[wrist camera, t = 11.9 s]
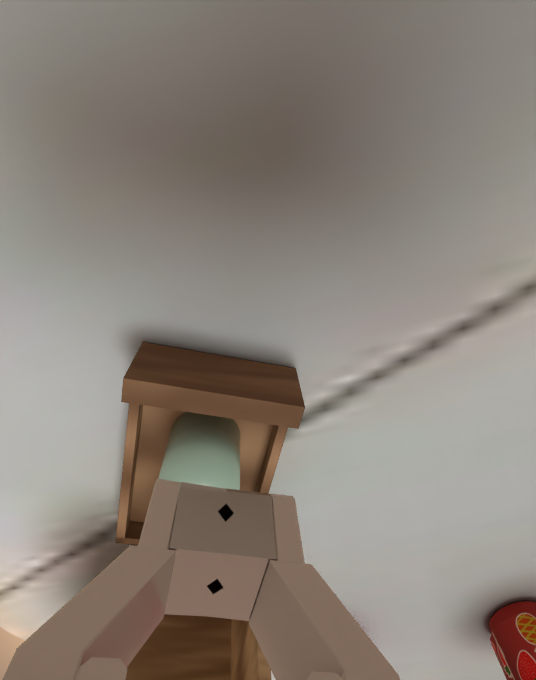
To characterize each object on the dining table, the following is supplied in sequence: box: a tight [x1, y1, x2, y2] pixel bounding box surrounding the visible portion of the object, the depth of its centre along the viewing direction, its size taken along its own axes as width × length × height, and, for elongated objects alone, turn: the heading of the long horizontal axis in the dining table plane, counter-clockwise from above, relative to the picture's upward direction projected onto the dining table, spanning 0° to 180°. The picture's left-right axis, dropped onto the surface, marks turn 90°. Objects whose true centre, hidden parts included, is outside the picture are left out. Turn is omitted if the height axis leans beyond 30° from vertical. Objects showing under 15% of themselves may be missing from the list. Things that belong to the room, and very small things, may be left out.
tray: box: [116, 342, 305, 545], centre depth 27 cm, size 16×10×4 cm, turn 167°
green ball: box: [158, 412, 240, 502], centre depth 25 cm, size 5×5×6 cm
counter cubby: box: [126, 614, 271, 680], centre depth 29 cm, size 12×13×13 cm
